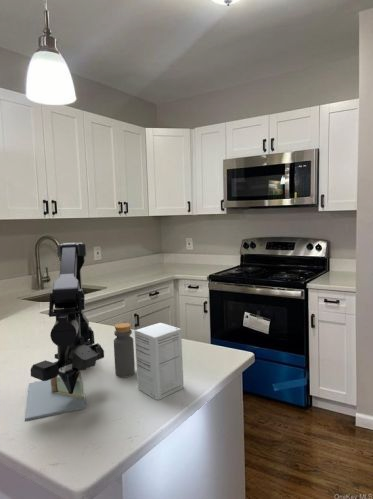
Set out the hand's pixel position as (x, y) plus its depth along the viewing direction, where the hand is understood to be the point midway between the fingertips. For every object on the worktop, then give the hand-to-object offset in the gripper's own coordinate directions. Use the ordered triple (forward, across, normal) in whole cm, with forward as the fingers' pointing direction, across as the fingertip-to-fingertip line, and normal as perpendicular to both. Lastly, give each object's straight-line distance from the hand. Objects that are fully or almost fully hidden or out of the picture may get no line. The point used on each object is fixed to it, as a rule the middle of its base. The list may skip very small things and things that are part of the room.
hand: (70, 393), depth 93 cm
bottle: (+2, +20, 0) cm, 20 cm away
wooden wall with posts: (+2, +5, +9) cm, 11 cm away
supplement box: (+2, +18, -16) cm, 24 cm away
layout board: (+2, 0, +6) cm, 7 cm away
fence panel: (+1, +2, +3) cm, 3 cm away
